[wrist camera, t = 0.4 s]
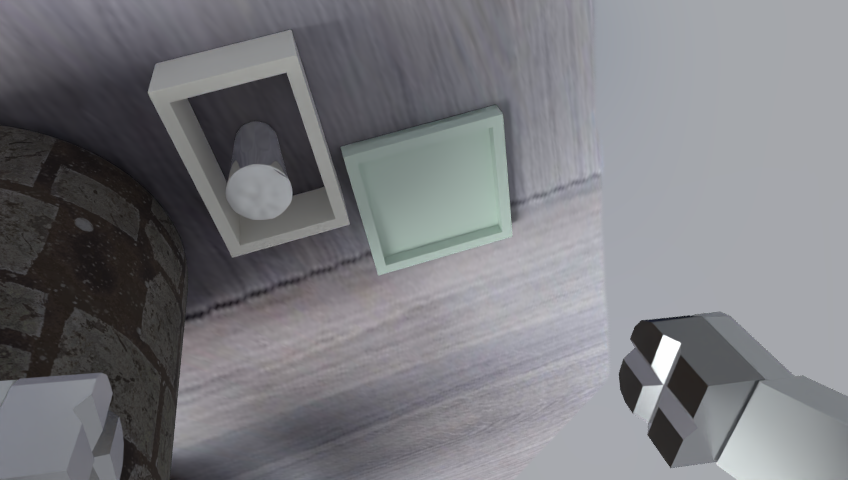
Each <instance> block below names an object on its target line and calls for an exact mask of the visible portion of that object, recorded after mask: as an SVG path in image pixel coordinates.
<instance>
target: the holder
mask: <svg viewBox="0 0 848 480" xmlns="http://www.w3.org/2000/svg"><path fill="white" fill-rule="evenodd" d="M283 73H287V75H288V78H289V81H290V84H291V87H292V90H293V93H294V96H295V99H296V102H297V105H298V108H299V111H300V114H301V117H302V120H303V123H304V126H305V129H306V132H307V135H308V138H309V141H310V144H311V147H312V150H313V153H314V156H315V159H316V162H317V165H318V168H319V171H320V174H321V177H322V180H323V183H324V186H325V187H322V188H319V189H315V190H311V191H308V192H304V193H301V194H297V195H293V196H292V201H291V203H290V205H289V206H288V207H287V209H286V210H285V211H284V212H283V213H282V214H281V215H279V216H277V217H275V218H273V219H267V220H252V219H249V218H246V217H244V216H242V215H240V214H238V213H236V212H235V211H234V210H233V209H232V207H231V206H230V204H229V203H228V201H227V199H226V186H227V182H226V180H225V177H224V175H223V173H222V171H221V169H220V167H219V165H218V162H217V160H216V158H215V156H214V154H213V152H212V150H211V148H210V145H209V143H208V141H207V139H206V137H205V135H204V133H203V130H202V128H201V126H200V124H199V122H198V120H197V118H196V116H195V113H194V111H193V109H192V107H191V105H190V103H189V101H188V98H190V97H194V96H197V95H201V94H205V93H209V92H213V91H217V90H221V89H225V88H229V87H232V86H236V85H240V84H244V83H248V82H252V81H256V80H260V79H264V78H267V77H271V76H275V75H279V74H283ZM148 95H149V97H150V99H151V101H152V102H153V104H154V106H155V108H156V110H157V112H158V114H159V116H160V118H161V120H162V122H163V124H164V126H165V128H166V130H167V132H168V134H169V135H170V137H171V139H172V141H173V143H174V145H175V147H176V149H177V151H178V153H179V155H180V157H181V159H182V161H183V163H184V165H185V167H186V168H187V170H188V172H189V174H190V176H191V178H192V180H193V182H194V184H195V186H196V188H197V190H198V192H199V194H200V196H201V198H202V200H203V201H204V203H205V205H206V207H207V209H208V211H209V213H210V215H211V217H212V219H213V221H214V223H215V225H216V227H217V229H218V231H219V233H220V234H221V236H222V238H223V240H224V242H225V244H226V246H227V248H228V250H229V252H230V254H231V256H232V258H234V257H237V256H241V255H244V254H248V253H251V252H255V251H258V250H262V249H266V248H269V247H273V246H276V245H280V244H283V243H287V242H290V241H294V240H297V239H301V238H305V237H308V236H312V235H315V234H319V233H322V232H326V231H329V230H333V229H337V228H340V227H344V226H347V225H350V222H349V218H348V214H347V210H346V206H345V202H344V198H343V194H342V190H341V187H340V184H339V180H338V177H337V174H336V171H335V168H334V164H333V161H332V158H331V155H330V152H329V148H328V145H327V142H326V139H325V136H324V132H323V129H322V126H321V123H320V120H319V116H318V113H317V110H316V107H315V104H314V100H313V97H312V94H311V91H310V88H309V84H308V81H307V78H306V75H305V72H304V68H303V65H302V62H301V59H300V56H299V52H298V49H297V46H296V43H295V40H294V36H293V33H292V30H287V31H283V32H279V33H275V34H271V35H267V36H263V37H259V38H255V39H251V40H247V41H243V42H239V43H235V44H231V45H227V46H223V47H219V48H215V49H211V50H207V51H203V52H199V53H195V54H191V55H188V56H184V57H180V58H176V59H172V60H168V61H164V62H160V63H156V64H155V68H154V71H153V75H152V79H151V82H150V86H149V90H148Z"/></svg>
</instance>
